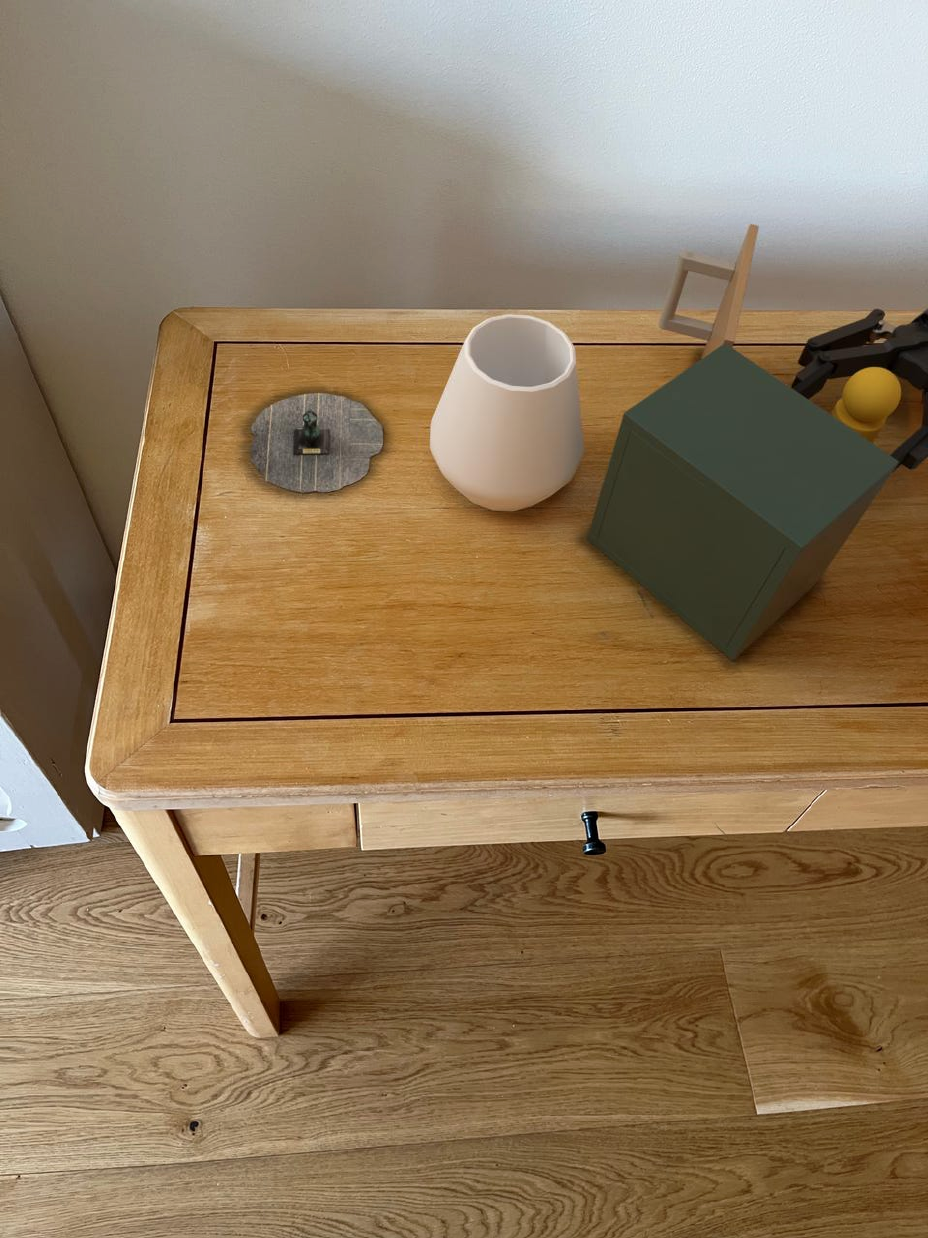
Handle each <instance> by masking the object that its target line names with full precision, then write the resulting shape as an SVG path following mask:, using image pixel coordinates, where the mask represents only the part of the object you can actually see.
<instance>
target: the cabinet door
mask: <svg viewBox="0 0 928 1238" xmlns="http://www.w3.org/2000/svg"><path fill="white" fill-rule="evenodd" d="M759 228H760V226H759V225H758V224H753V223H750V224H749V225H748V228H747V231H746V233H745V236H744V238H743V242H742V244H741V246H740V247H741V248H740V250H739V253H738V256H737V258H736V261H730V260H726V259H722V258H717V257H714V256H711V255H706V254H701V253H698V252H693V251H689V250H682V251H680V252H679V255H678V258H677V261H676V264H675V268H674V271H673V275H672V278H671V281H670V285H669V287H668V291H667V295H666V298H665V301H664V305H663V308H662V311H661V314H660V317H659V320H658V327H659V329H661V330H664V331H668V332H673V333H676V334H680V335H684V336H687V337H692V338H696V339H699V340H704V341H706V344H705V346H704V349H703V351H702V354H701V359H703V358H704V357H705V356H707V355H708V354H710V353H711V352H713V351H714V350H716V349H717V348H718V347H720V346H721V345H723V344H724V343H726V344H727V345H729V346H730V347H732V348H734V344H735V341H736V337H737V332H738V327H739V322H740V318H741V314H742V309H743V303H744V298H745V293H746V289H747V284H748V281H749V276H750V270H751V265H752V261H753V257H754V255H753V254H754V252H755V246H756V242H757V239H758V238H757V237H758V232H759ZM689 272H691V273H695V274H700V275H703V276H707V277H712V278H715V279H718V280H719V279H720V280H724V281H728V283H727V285H726V288H725V291H724V294H723V296H722V299H721V301H720V302H721V303H720V305H719V308H718V310H717V314H716V315H715V318H714V321H713V323H712V322H708V321H704V320H700V319H696V318H692V317H688V316H685V315H680V314H676V311H677V308H678V305H679V302H680V299H681V296H682V293H683V289H684V287H685V283H686V280H687V278H688V277H687V276H688V273H689ZM701 359H700V360H701Z"/></svg>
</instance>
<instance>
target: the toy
mask: <svg viewBox="0 0 928 1238" xmlns="http://www.w3.org/2000/svg"><path fill="white" fill-rule="evenodd" d="M901 397H902V387H901V383H900V381H899V379H898V376H896V375H895V374H893V373H892V372H890V371H889V370H887V369H884V368H880V367H869V368H865V369H862V370H860V371H858V372H857V373H855V374H854V375H853V376H850V377H849V378H848V380H847V382H846V383H845V385H844V388H843V391H842V397H841V398H839V399H838V401H837V402H836V403H835V405H834V407H833V408H832V409H833V410H831V413H829V414H830V415H832V416H833V417H834V418H836V419H837V420H839V421H840V422H842V423H843V424H845V425H846V426H848V427H849V428H851V429H852V430H854V431H855V432H856V433H858V434H859V435H861V436H862V437H864V438H865V439H867V440H868V441H870V442H871V443H873V444H874V442H875V440H876V439H877V437H878V435H879V434H880V432H881V431H882V429H883V427H884V426H885V424H886V421H887V417H889V416H890V415H891V414H893V412H894V411H895V410H896V409H897V407H898V405H899V404H900V401H901Z"/></svg>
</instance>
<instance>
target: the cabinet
mask: <svg viewBox="0 0 928 1238" xmlns="http://www.w3.org/2000/svg"><path fill="white" fill-rule="evenodd" d="M830 414H831V413H829V412H827V411H826V410H824V409H822V407H820V406H819V405H817V404H816V403H814V402H812V401H811V400H810V399H809V400H808V399H807V398H805V397H804V396H802V395H801V394H799V393H798V392H796V391H795V390H793V389H792V388H791V386H789V385H788V384H786V383H785V382H783V381H781V379H779V378H778V377H776V376H775V375H773V374H771V373H770V372H769V371H767V370H766V369H764V368H763V367H761V366H760V365H758V364H757V363H755V362H754V361H752V360H751V359H750V358H749V357H747V356H745V355H744V354H742V353H741V352H739V351H738V350H736V349H735V348H734V347H730V346H729V345H727V344H726V343H724V344H723V345H721V346H720V347H718V348H717V349H716V350H714V351H713V352H711V353H710V354H708V355H707V356H705V357H704V358H703V359H700V360H698V361H697V362H695V363H694V364H693V365H691V366H689V367H688V368H687V369H685V370H684V371H682V372H680V373H679V374H678V375H676V376H675V377H673V378H672V379H671V380H670V381H668V382H667V383H665V384H664V385H662V386H661V387H659V388H657V389H656V390H655V391H653V392H652V393H651V394H649V395H648V396H646V397H645V398H643V399H641V401H639V402H638V403H636V404H635V405H633V406H632V407H631V408H629V409H627V410H626V411H625V412H624V413H623V415H622V418H621V422H620V425H619V429H618V431H617V435H616V439H615V441H614V445H613V449H612V451H611V455H610V458H609V462H608V465H607V468H606V472H605V476H604V479H603V483H602V486H601V490H600V493H599V496H598V500H597V503H596V506H595V510H594V513H593V516H592V520H591V524H590V527H589V530H588V534H587V537H586V540H587V541H588V542H589V543H590V544H591V545H593V547H595V548H596V549H597V550H599V551H600V552H601V553H602V554H603V555H604V556H606V557H607V558H608V559H609V560H611V561H612V562H613V563H614V564H615V565H616V566H618V568H620V569H621V570H623V571H624V572H625V573H626V574H627V575H629V576H630V577H631V578H632V579H634V581H636V583H638V584H640V585H641V587H643V588H644V589H645V590H646V591H648V592H649V593H650V594H651V595H652V596H654V597H655V598H656V599H657V600H658V601H659V602H661V603H662V604H663V605H664V606H665V607H667V608H668V609H669V610H670V611H671V612H673V613H674V614H675V615H676V616H678V617H679V619H681V620H682V621H683V622H685V623H686V624H687V625H688V626H690V627H691V628H692V629H693V630H695V631H696V632H697V633H698V634H699V635H700V636H702V638H703V639H705V640H706V641H708V642H709V643H710V644H711V645H712V646H714V647H715V648H716V649H717V650H718V651H720V652H721V653H722V654H723V655H724V656H725V657H726V658H728V660H731V661H732V662H734V661H735V660H736V659H737V658H738V657H739V656H740V655H741V654H742V653H743V652H744V651H745V650H746V649H748V648H749V647H750V646H751V645H752V644H753V643H754V642H755V641H756V640H757V639H758V638H759V637H761V636H762V635H763V634H764V633H765V632H766V631H767V630H768V629H769V628H770V627H771V626H773V624H775V623H776V622H777V621H778V620H779V619H780V618H782V616H783V615H784V614H785V613H786V612H787V611H789V610H790V609H791V608H792V607H793V606H794V605H795V604H796V603H797V602H798V601H799V600H800V599H802V597H804V596H805V595H806V594H807V593H808V592H809V591H810V590H811V589H812V588H813V587H814V586H816V584H818V582H819V581H820V580H821V578H822V577H823V576H824V574H825V572H826V571H827V569H828V568H829V566H830V565H831V563H832V562H833V560H834V559H835V558H836V556H837V555H838V553H839V551H840V550H841V549H842V547H843V546H844V545H845V543H846V541H847V540H848V538H849V537H850V536H851V534H852V533H853V531H854V530H855V528H856V527H857V525H858V524H859V522H860V521H861V519H862V518H863V516H864V515H865V514H866V512H867V510H868V509H869V508H870V507H871V505H872V503H873V502H874V500H875V499H876V497H877V496H878V494H879V493H880V492H881V490H882V489H883V487H884V486H885V484H886V483H887V481H888V480H889V478H890V477H891V475H892V474H893V473H894V472H895V471H894V469H895V468H896V466H897V465H898V463H899V461H897V460H896V459H895V458H893V457H892V456H890V454H889V453H888V452H886V451H884V450H883V449H882V448H880V447H878V446H877V445H876V444H874V442H873V443H871V442H870V441H868V440H867V439H865V438H864V437H862V436H861V435H859V434H858V433H856V432H855V431H854V430H852V429H851V428H849V427H848V426H846V425H845V424H843V423H842V422H840V421H839V420H837V419H836V418H834V417H833V416H832V415H830ZM893 471H894V472H893ZM892 472H893V473H892Z"/></svg>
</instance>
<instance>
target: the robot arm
mask: <svg viewBox="0 0 928 1238" xmlns="http://www.w3.org/2000/svg"><path fill="white" fill-rule="evenodd" d="M885 316H886V312H885V311H884V310H883V309H880V308H874V309H872V310H871V311H870V313H868V314H867V315H866V316H865V317H864V318H862V319H859V320H856V321H853V322H851V323H848V324H845V325H843V326H840V327H836V328H834V329H831V330H829V331H826V332H824V333H820V334H818V335H815V336H812V337H810V338H808V339H807V342H806V343H805V344H804V347H803V349H802V351H801V353H800V355H799V358H798V360H797V364H798V365H799V366H801V367H803V368H802V369H801V370H799V371H797V372H796V375H795V378H794V379H793V380H792V383H791V385H790V388H792V389H793V390H795V391H796V392H798V393H799V394H801V395H802V396H804V397H805V398H807V399H808V400H810V399H811V398H813V397H814V396H815V395H817V394H818V393H820V391H821V390H823V389H824V387H825V385H826V383H827V382H828V380H834V379H841V378H847V377H852V376H853V375H854V374H855V373H857V372H858V371H860V370H862V369H865V368H869V367H880V368H884V369H887V370H889V371H890V372H892V373H893V374H894V375H895V376H896V377H897V378H900V379H902V380H905V381H907V382H908V383H909V384H910V385H911V386H912V387H914V388H915V389H916V390H918V391H922V394H921V405H922V406H923V407H922V417H921V427H919V428H918V429H917V430H916V431H915V432H914V433H913V434H912V435H910V436H909V437H908V438H907V439H906V440H904V442H902V444H901V445H899V446H898V447H897V448H895V450H893V451H892V452H891V453H890V454H889V455H890V456H892V457H893V458H895V459H896V460H897V461H899V463H898V465H897V466H896V468H895V469H894V471H893V472H892V474H893V473H894V472H896V470H898V469H899V468H900V467H901V466H903V467H905V468H906V469H907V470H909V471H912V470H915V469H917V468H918V467H919V466H920V465H921V464H923V462H924V461H926V460H927V458H928V308H926V309H925V310H924V311H922V312H921V313H920V314H918V315H917V316H916V317H915V318H914V319H913V320H911V321H910V322H909V323H906V324H900V325H897V326H895V325H893V324H891V323H889V322H887V321H886V320H884V318H885ZM881 339H884V341H883V342H881V343H875V342H876V341H879V340H881ZM874 343H875V344H874ZM866 344H867V345H866Z"/></svg>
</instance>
